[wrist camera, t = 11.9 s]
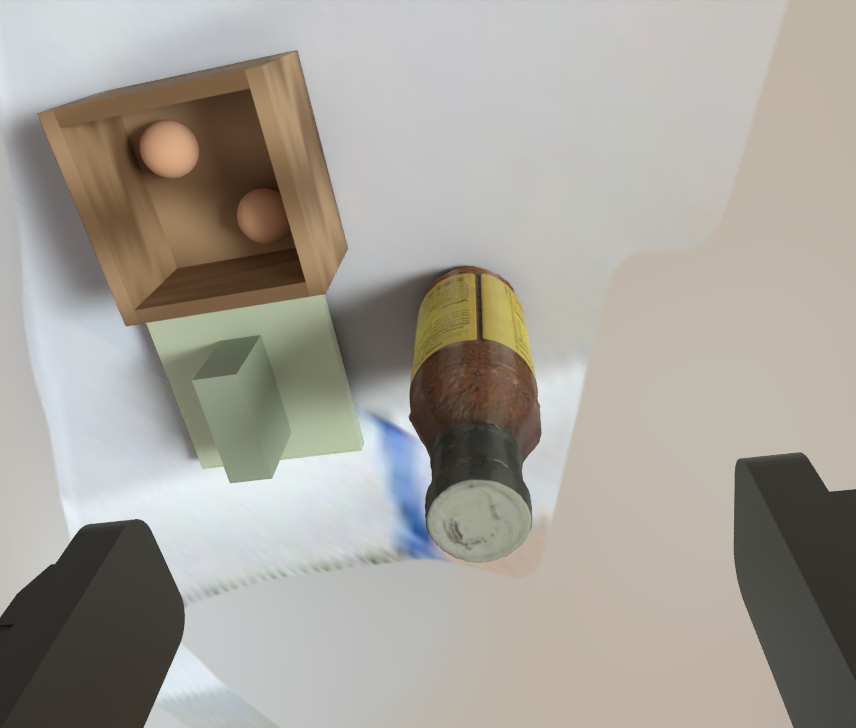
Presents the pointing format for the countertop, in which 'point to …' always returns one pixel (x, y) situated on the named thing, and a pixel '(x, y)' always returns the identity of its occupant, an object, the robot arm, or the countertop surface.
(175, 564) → the countertop surface
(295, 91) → the box
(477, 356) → the sauce bottle
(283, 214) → the ball
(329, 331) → the lid
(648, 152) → the countertop surface
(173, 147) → the ball
